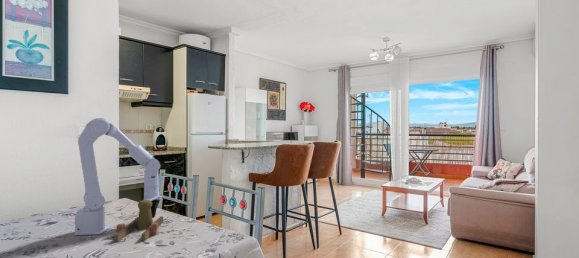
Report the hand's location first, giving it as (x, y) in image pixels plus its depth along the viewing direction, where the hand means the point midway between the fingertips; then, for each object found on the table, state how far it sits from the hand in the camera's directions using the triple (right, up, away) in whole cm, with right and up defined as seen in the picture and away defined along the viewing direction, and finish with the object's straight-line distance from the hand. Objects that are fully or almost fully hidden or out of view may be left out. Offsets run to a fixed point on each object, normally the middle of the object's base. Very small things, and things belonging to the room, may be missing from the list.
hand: (151, 217), depth 134 cm
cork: (+1, -2, -8) cm, 8 cm away
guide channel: (+1, -2, -12) cm, 12 cm away
